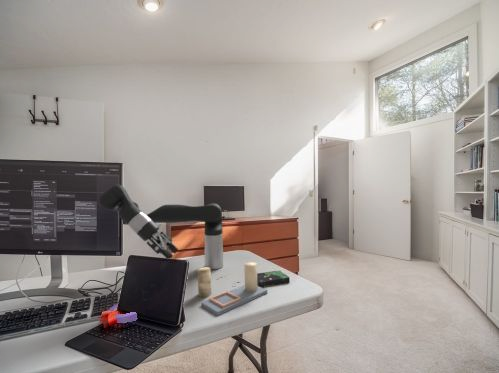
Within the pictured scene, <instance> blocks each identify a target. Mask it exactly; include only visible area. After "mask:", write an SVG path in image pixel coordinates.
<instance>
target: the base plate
mask: <svg viewBox="0 0 499 373" xmlns="http://www.w3.org/2000/svg"><path fill="white" fill-rule="evenodd" d="M243 267H244V284H243V285H242V286H239V287H237V288H233V289H231V290H229V291H224V292H220V293H219V294H217V295H214V296H212V297H209V299H206V300H203V301H201V302H200V306H202V307H203V308H205V309H206V310H208V311H210V313H212V314H214V315H216V316H220V315H222V314H224V313H226V312H229V311H231V310H234V309H236V308H237V307H240V306H242V305H244V304H247V303H248V302H251V301H252V300H255V299H257V298H259V297H261V296H264V295H265V294H268V289H266V288H264V287H259V286H257V274H258V263H257V262H245V263H244V265H243Z"/></svg>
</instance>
